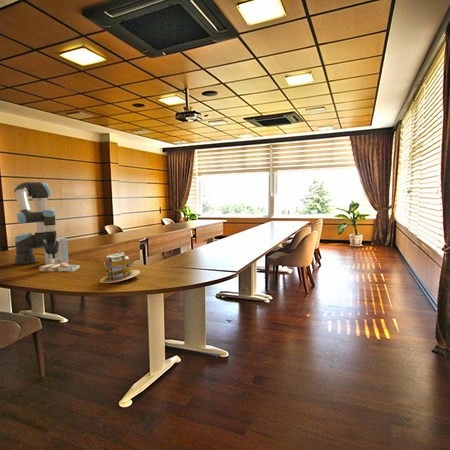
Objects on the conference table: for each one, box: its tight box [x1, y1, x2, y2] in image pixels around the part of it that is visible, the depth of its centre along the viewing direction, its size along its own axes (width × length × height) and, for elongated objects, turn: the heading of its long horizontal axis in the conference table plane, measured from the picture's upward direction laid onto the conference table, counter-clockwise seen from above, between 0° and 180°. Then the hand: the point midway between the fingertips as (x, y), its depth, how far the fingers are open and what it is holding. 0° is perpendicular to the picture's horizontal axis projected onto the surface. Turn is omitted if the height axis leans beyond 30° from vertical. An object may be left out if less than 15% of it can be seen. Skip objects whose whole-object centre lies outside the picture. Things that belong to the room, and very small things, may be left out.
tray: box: [57, 264, 81, 273], centre depth 222 cm, size 11×10×2 cm
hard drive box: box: [43, 237, 70, 265], centre depth 242 cm, size 16×8×20 cm, turn 84°
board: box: [38, 264, 60, 272], centre depth 223 cm, size 14×10×3 cm
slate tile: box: [66, 264, 77, 268], centre depth 222 cm, size 4×4×2 cm
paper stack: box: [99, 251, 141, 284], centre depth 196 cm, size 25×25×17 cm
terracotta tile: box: [60, 262, 71, 268], centre depth 222 cm, size 4×4×2 cm
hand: (52, 262), depth 223 cm, fingers closed
